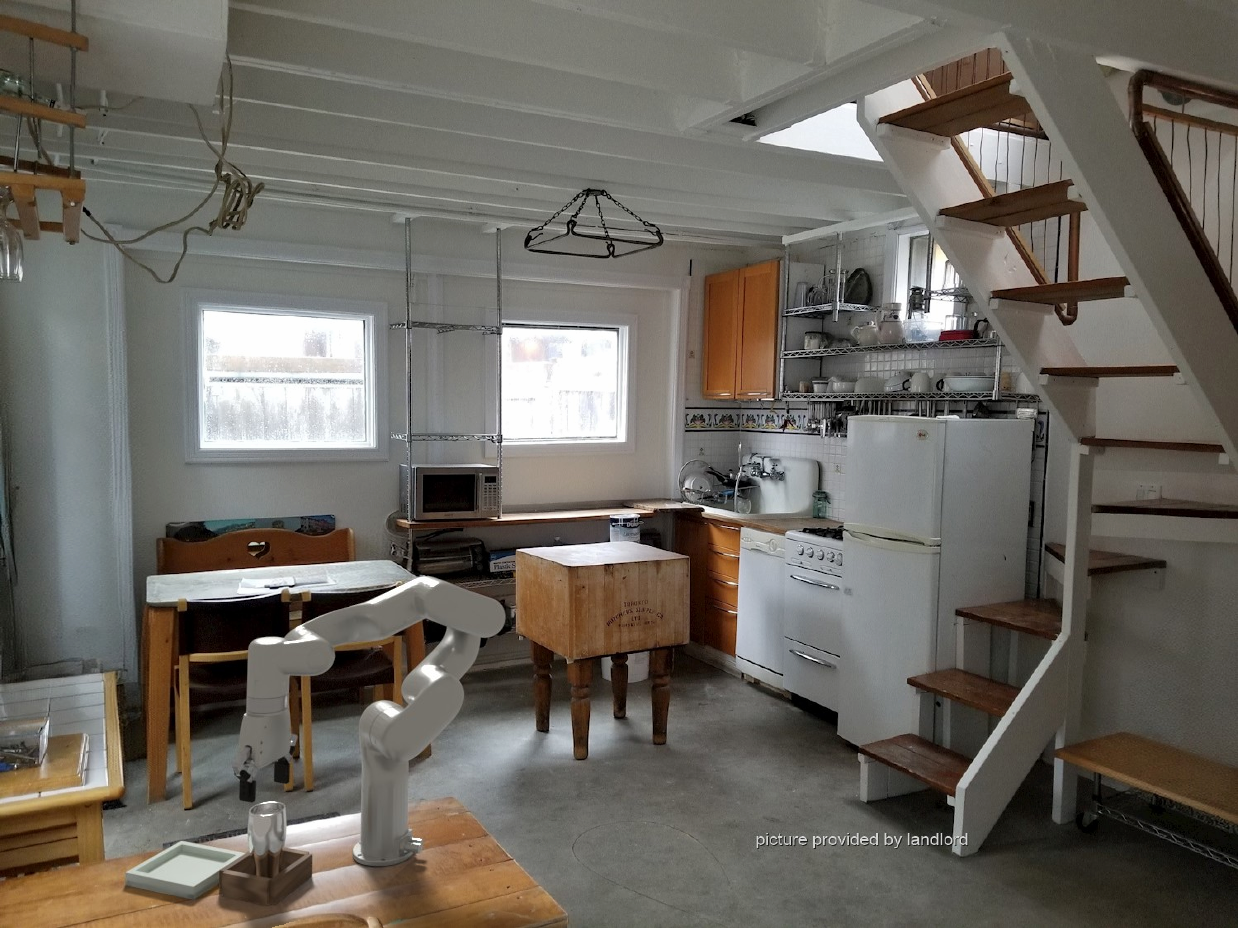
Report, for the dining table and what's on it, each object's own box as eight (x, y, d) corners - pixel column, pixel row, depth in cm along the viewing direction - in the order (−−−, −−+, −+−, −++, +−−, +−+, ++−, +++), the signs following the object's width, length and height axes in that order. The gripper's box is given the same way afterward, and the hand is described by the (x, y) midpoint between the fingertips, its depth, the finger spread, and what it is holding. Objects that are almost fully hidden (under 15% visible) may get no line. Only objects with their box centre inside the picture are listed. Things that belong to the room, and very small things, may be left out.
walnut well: (313, 875, 175) (314, 852, 175) (272, 906, 163) (272, 882, 163) (261, 864, 178) (261, 842, 178) (216, 894, 167) (217, 871, 166)
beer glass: (272, 896, 167) (273, 817, 166) (239, 891, 168) (240, 813, 167) (293, 878, 173) (293, 802, 173) (261, 873, 175) (261, 799, 174)
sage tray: (245, 865, 178) (245, 852, 178) (193, 899, 165) (193, 886, 165) (181, 852, 183) (181, 840, 183) (125, 884, 169) (125, 872, 169)
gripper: (280, 689, 179) (278, 773, 179) (218, 713, 162) (216, 805, 163) (312, 693, 177) (309, 778, 177) (253, 718, 160) (250, 811, 160)
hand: (264, 791), depth 170 cm, fingers open, 9 cm apart
